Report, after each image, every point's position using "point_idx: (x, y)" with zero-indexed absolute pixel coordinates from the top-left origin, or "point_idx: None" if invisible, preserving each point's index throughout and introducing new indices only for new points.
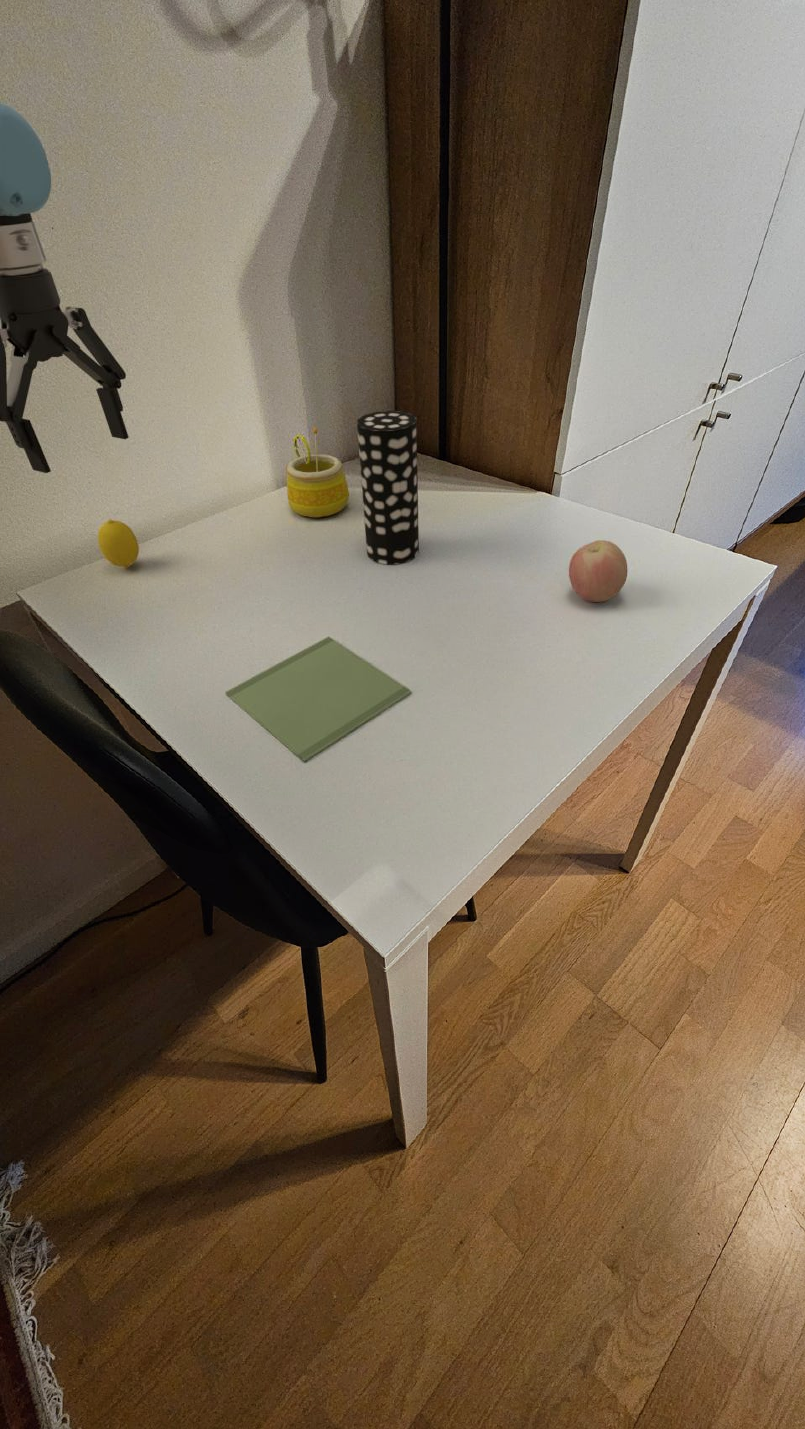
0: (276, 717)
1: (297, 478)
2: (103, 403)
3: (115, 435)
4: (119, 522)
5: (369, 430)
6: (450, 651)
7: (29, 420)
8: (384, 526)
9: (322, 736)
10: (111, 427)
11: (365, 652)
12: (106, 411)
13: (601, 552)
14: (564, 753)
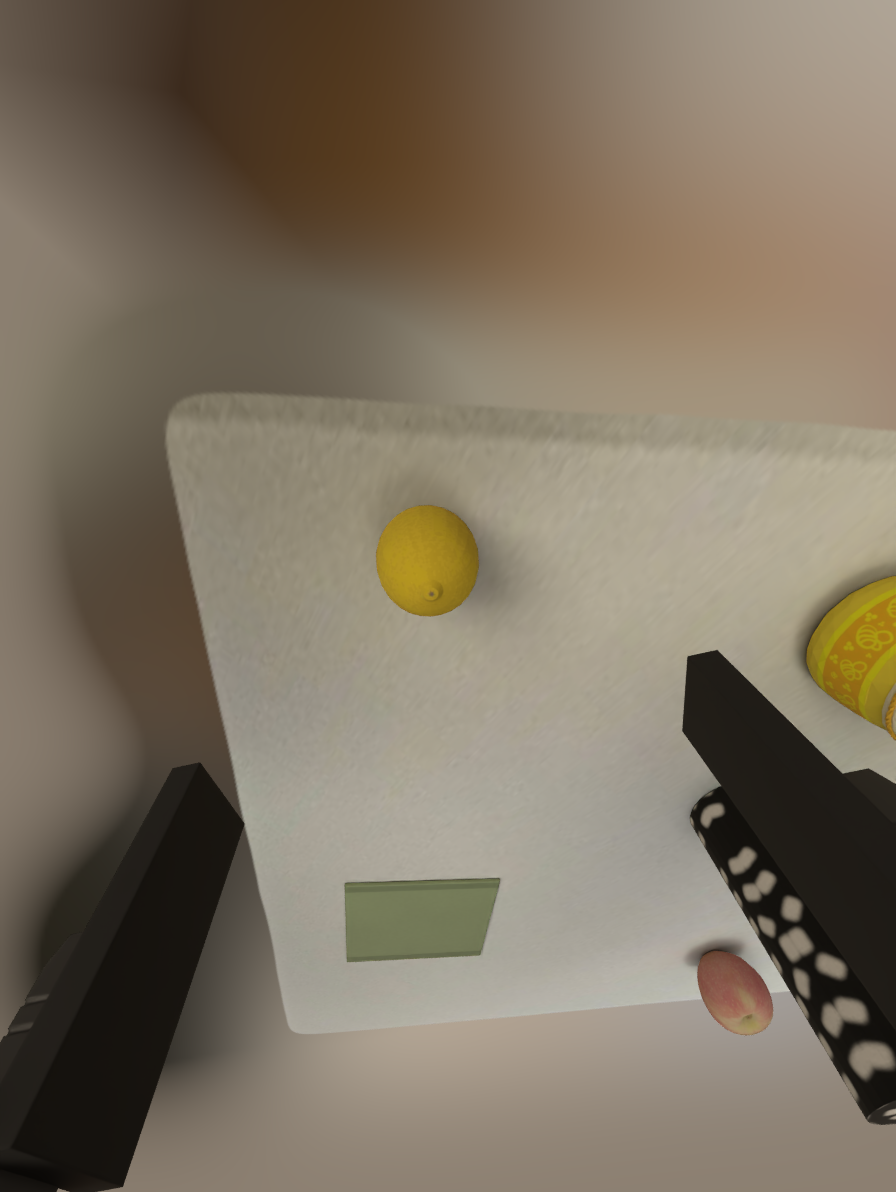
0: (363, 927)
1: (889, 703)
2: (838, 850)
3: (692, 691)
4: (453, 594)
5: (869, 1112)
6: (556, 939)
7: (120, 1186)
8: (730, 889)
9: (378, 954)
10: (719, 712)
11: (503, 907)
12: (790, 797)
13: (739, 1031)
14: (494, 1014)
